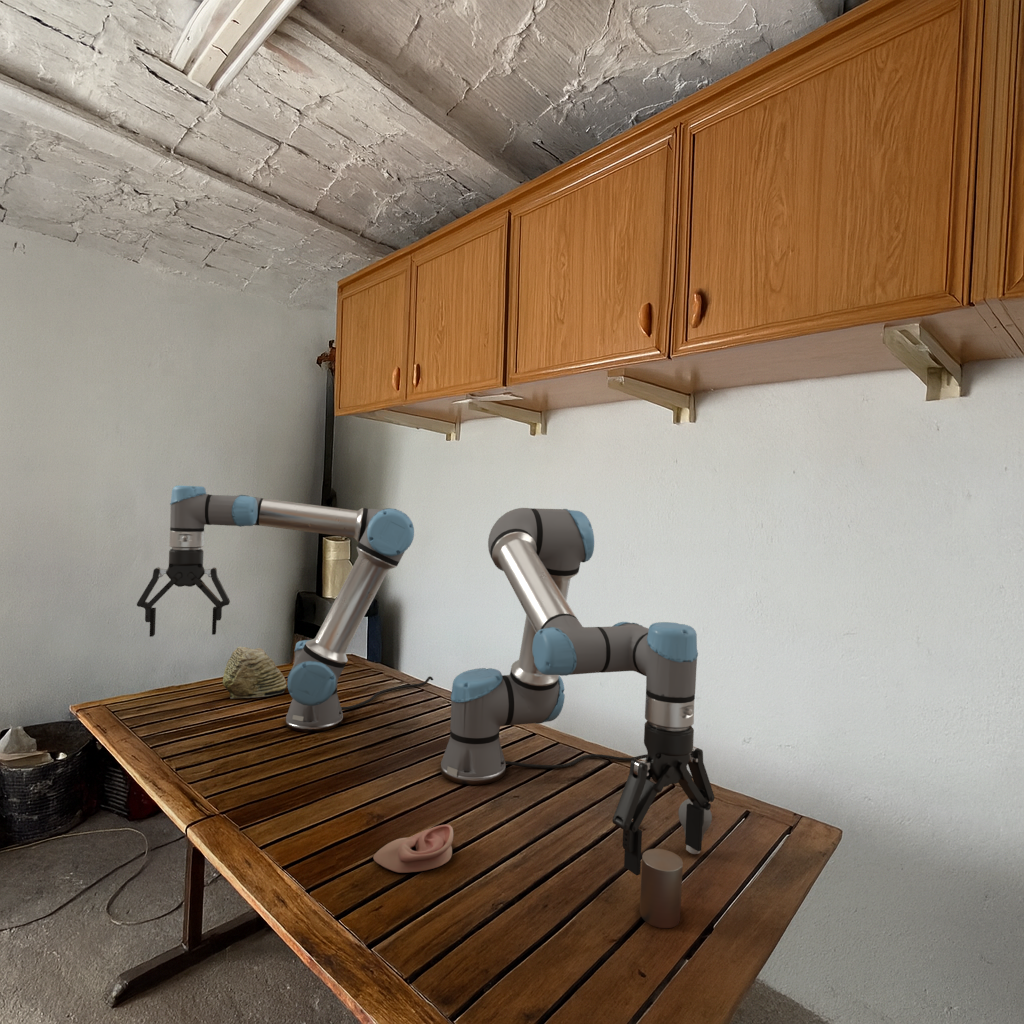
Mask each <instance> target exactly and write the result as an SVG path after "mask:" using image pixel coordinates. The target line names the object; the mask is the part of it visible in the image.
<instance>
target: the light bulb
mask: <svg viewBox="0 0 1024 1024" xmlns="http://www.w3.org/2000/svg"><path fill="white" fill-rule="evenodd" d="M689 803H690V804H692V805H693V803H692V802H691V801H690V799H689V798H687V799H685V800H684V801H683V802H682V803H681V804H680V806H679V807H678V814H677V815H678V820H679V822H680V824H681V827H682V829H683V832H684V837H685V836H686V811H687V804H689ZM712 820H713V815H712V810H711V808H710V809H709V810H705V809H704V824H703V826H702V841H703V840H704V837H705V834H706V832H707V831H708V830H709V828H710V826H711V824H712V822H713V821H712ZM685 850H686V851H687V852H688V853H690V854H691V855H698V854H700V853H701V851H697V850H695V849H693V848H691V847H690V846H688V845H686V844H685Z"/></svg>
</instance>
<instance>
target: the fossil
mask: <svg viewBox="0 0 1024 1024" xmlns="http://www.w3.org/2000/svg"><path fill="white" fill-rule="evenodd" d="M222 676H223V677H222V685H223V687H224V688H225V690H226V691H228V693H229V698H230V699H250V698H264V697H271V696H275V695H281V694H284V693H285V691H286V689H287V688H288V686H287V680H286V678H285V676H284V674H283V673H282V672H281V669H279V668H278V667H277V665H276V663H275V662H274V660H273V659H272V658H271V657H270V656H269V655H268V654H267V653H266V652H265V650H264V649H263V648H260V647H258V648H251V647H247V646H246V647H245V646H238V647H237V648H236V649H235V650H233V651H232V653H231V656H230V657H229V659H228V660H227V663H226V666H225V668H224V671H223V675H222Z"/></svg>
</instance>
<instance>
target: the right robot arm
mask: <svg viewBox="0 0 1024 1024" xmlns="http://www.w3.org/2000/svg"><path fill="white" fill-rule="evenodd" d="M487 547H488V553H489V556H490V559H491V561H492V562H493V564H494V566H495V567H496V568H497V569H498V570H500V571H502V572H504V574H505V577H506V578H507V580H508V582H509V584H510V586H511V588H512V590H513V592H514V594H515V595H516V597H517V600H518V601H519V603H520V605H521V608H522V609H523V611H524V613H525V614H526V615H525V621H524V626H523V632H522V638H521V645H520V650H519V651H520V652H519V657H518V659H517V660H515V661H514V662H513V663H512V665H511V666H510V672H509V674H504V675H503V674H502V672H501V671H500V670H499V669H496V668H491V667H489V668H486V667H480V668H473V669H468V670H466V671H463V672H460V673H459V674H458V675H456V676H455V677H454V679H453V681H452V687H451V693H450V701H451V703H450V725H449V726H450V727H449V739H448V742H447V745H446V747H445V750H444V753H443V757H442V759H441V761H440V773H441V775H442V776H443V777H444V778H445V779H447V780H448V781H451V782H453V783H457V784H461V785H470V786H478V785H479V786H480V785H488V784H491V783H495V782H497V781H500V780H501V779H502V778H504V776H505V775H506V765H507V766H515V767H521V768H528V769H529V768H530V769H546V770H549V769H553V770H554V769H564V768H569V767H571V766H574V765H576V764H578V763H579V762H580V761H582V760H585V759H591V758H593V759H595V758H599V759H607V760H614V761H620V762H621V761H622V762H630V764H629V765H630V766H629V774H628V776H627V779H626V782H625V783H624V788H623V790H622V792H621V795H620V799H619V801H618V804H617V806H616V809H615V812H614V815H613V816H612V821H611V822H612V824H613V825H616V826H617V827H618V828H620V829H622V848H623V850H624V858H623V868H625V869H626V870H628V871H629V872H631V873H632V874H633V875H635V876H639V875H640V876H641V871H642V845H643V843H642V841H643V830H642V829H640V828H639V827H640V826H641V824H642V823H643V821H644V819H645V816H646V815H647V813H648V811H649V809H650V807H652V804H653V802H654V800H655V799H656V797H657V795H658V794H659V793H661V792H662V791H663V790H664V788H666V787H669V786H670V785H673V784H674V785H676V784H679V786H680V788H681V789H682V791H683V792H684V793H685V795H686V796H687V799H690V801H691V802H692V803H693V805H692V804H690V803H689V804H687V811H686V836H685V835H684V837H685V839H684V844H685V846H686V845H688V846H690V847H691V848H693V849H695V850H697V851H700V852H702V847H703V845H702V843H703V840H702V826H703V824H704V809H705V810H709V809H710V810H711V808H712V804H711V803H713V802H714V800H715V794H714V791H713V787H712V785H711V781H710V779H709V776H708V772H707V770H706V766H705V763H704V750H703V749H701V748H699V747H697V746H694V740H695V739H694V735H695V729H694V727H693V725H694V723H695V699H696V684H697V666H698V656H699V652H698V651H699V650H698V642H697V641H698V637H697V636H698V633H697V632H696V629H695V628H694V627H693V626H691V625H688V624H685V623H678V622H669V621H662V622H661V621H659V622H653V623H651V624H650V625H649V627H646V626H643V625H641V624H639V623H637V622H628V621H620V622H616V623H615V624H613V625H612V626H583V625H582V623H581V622H580V620H579V619H578V617H577V616H576V615H575V613H574V611H573V609H572V607H570V605H569V603H568V601H567V599H568V596H569V595H568V594H569V591H570V590H569V589H570V584H571V580H572V578H574V577H575V576H577V575H578V574H579V572H580V567H581V563H587V562H588V561H590V560H591V558H592V557H593V554H594V552H595V534H594V530H593V525H592V523H591V521H590V519H589V518H588V516H587V515H586V514H585V513H584V512H583V511H580V510H575V509H568V508H531V507H519V508H518V507H517V508H514V509H511V510H509V511H507V512H505V513H504V514H503V515H501V516H500V517H498V518H497V520H496V521H495V522H494V523H493V526H492V527H491V529H490V532H489V534H488V539H487ZM617 672H619V673H620V672H635V673H638V674H640V675H642V676H645V677H646V679H645V681H646V682H645V703H644V705H645V706H644V719H645V720H646V722H644V729H643V730H644V731H643V744H644V746H645V749H646V751H647V754H641V755H638V756H632V757H622V756H614V755H613V756H612V755H608V754H599V753H597V754H596V753H593V754H585V755H581V756H579V757H577V758H575V759H574V760H573V761H569V762H567V763H561V764H533V763H523V762H518V761H510V760H505V755H504V752H503V748H502V745H501V741H500V731H501V730H500V729H501V727H508V726H518V725H519V726H521V725H531V724H535V725H539V724H544V723H548V722H552V721H555V720H556V719H557V718H558V717H559V716H560V714H561V712H562V710H563V708H564V704H565V697H566V694H565V693H564V692H565V684H564V680H563V679H562V677H565V676H566V677H567V676H572V675H574V676H575V675H586V674H598V673H600V674H601V673H617ZM561 676H562V677H561ZM642 759H645V760H642ZM687 766H688V767H687Z"/></svg>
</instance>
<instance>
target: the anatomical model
mask: <svg viewBox="0 0 1024 1024" xmlns="http://www.w3.org/2000/svg"><path fill="white" fill-rule="evenodd" d="M454 834H455V833H454V829H453V826H452V825H450V824H441V825H437V826H433V827H430V828H427V829H425V830H422V831H420V832H418V833H416V834H414V835H411V836H409V837H399V838H397V839H393V840H392V841H390V842H388V843H387V844H385V845H383V846H382V847H381V848H379V850H377V851H376V852H375V853H374V855H373V856H372V857H373V861H374V862H375V863H377V864H378V865H380V866H381V867H383V868H384V869H386V870H389V871H392V872H395V873H398V874H399V873H401V874H405V873H406V874H407V873H408V874H409V873H417V872H423V871H429V870H432V869H436V868H439V867H441V866H443V865H444V864H447V863H448V862H449V861H450V860H451V859H452V855H453V846H452V844H453V842H454V836H455V835H454Z"/></svg>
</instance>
